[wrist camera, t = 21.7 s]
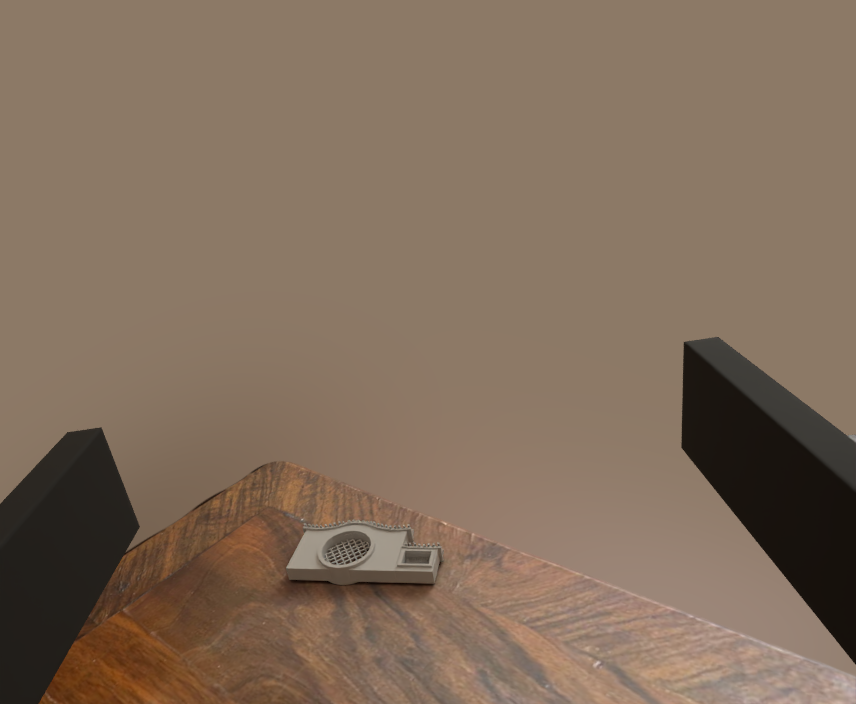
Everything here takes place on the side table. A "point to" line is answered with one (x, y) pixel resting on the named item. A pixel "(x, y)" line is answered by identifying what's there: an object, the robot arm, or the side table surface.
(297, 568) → the lattice window wall
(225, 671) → the side table surface
